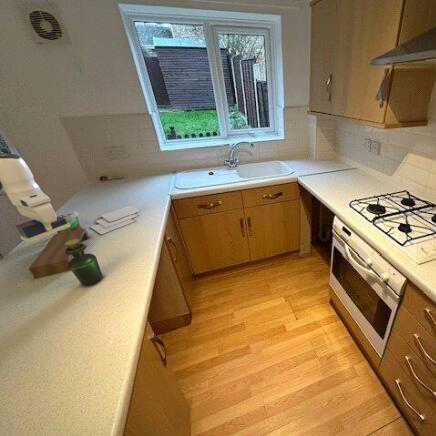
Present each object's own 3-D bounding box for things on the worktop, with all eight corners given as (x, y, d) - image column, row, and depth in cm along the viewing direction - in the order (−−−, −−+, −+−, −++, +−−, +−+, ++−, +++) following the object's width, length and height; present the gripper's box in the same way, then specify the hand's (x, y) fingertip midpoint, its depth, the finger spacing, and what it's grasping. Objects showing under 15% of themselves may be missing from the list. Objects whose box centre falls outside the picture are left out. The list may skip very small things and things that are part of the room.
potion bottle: (107, 280, 92) (87, 242, 84) (80, 291, 87) (57, 251, 79) (103, 270, 97) (84, 233, 89) (78, 280, 92) (56, 241, 84)
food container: (54, 240, 119) (44, 222, 114) (54, 235, 123) (45, 217, 118) (85, 231, 125) (76, 214, 121) (84, 227, 130) (76, 210, 125)
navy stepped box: (28, 242, 92) (20, 229, 89) (21, 239, 94) (13, 226, 91) (70, 226, 103) (64, 213, 100) (63, 223, 105) (57, 211, 102)
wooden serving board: (35, 278, 94) (28, 268, 92) (59, 242, 116) (54, 234, 114) (73, 269, 98) (67, 259, 96) (89, 236, 121) (85, 228, 118)
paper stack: (149, 215, 140) (149, 214, 140) (101, 234, 122) (100, 233, 122) (130, 206, 152) (129, 205, 152) (83, 222, 134) (82, 221, 134)
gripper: (2, 195, 92) (22, 226, 99) (29, 204, 85) (48, 237, 91) (24, 190, 97) (41, 219, 104) (51, 197, 90) (67, 229, 96)
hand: (44, 228), depth 97 cm, fingers closed on navy stepped box, 5 cm apart
